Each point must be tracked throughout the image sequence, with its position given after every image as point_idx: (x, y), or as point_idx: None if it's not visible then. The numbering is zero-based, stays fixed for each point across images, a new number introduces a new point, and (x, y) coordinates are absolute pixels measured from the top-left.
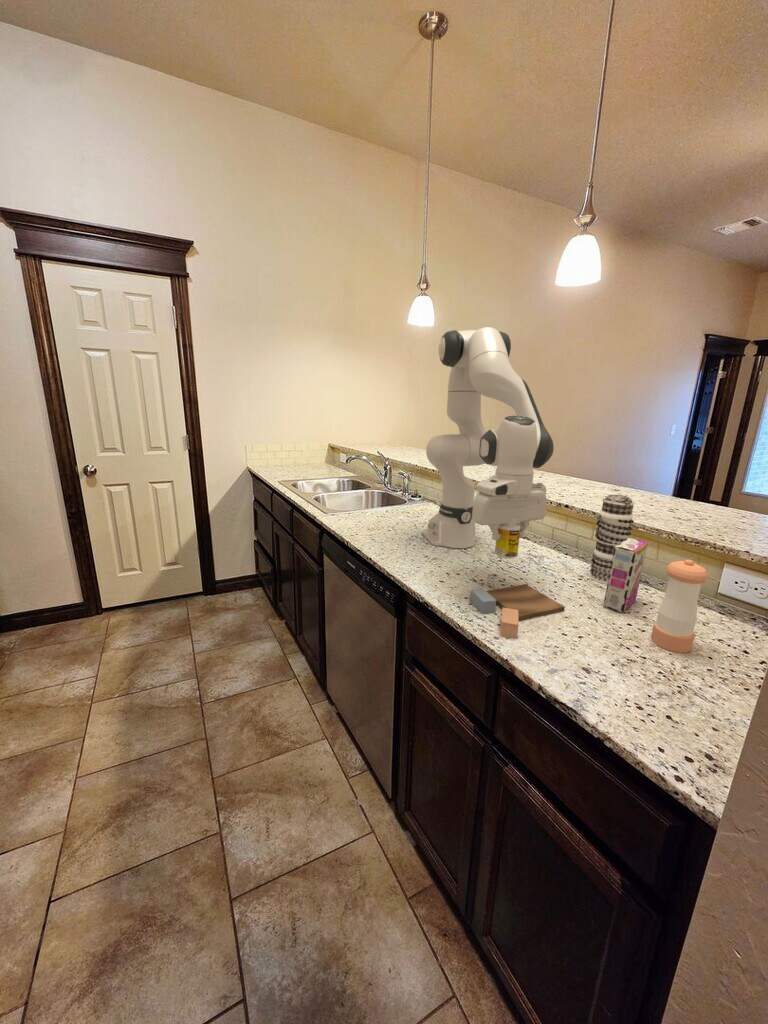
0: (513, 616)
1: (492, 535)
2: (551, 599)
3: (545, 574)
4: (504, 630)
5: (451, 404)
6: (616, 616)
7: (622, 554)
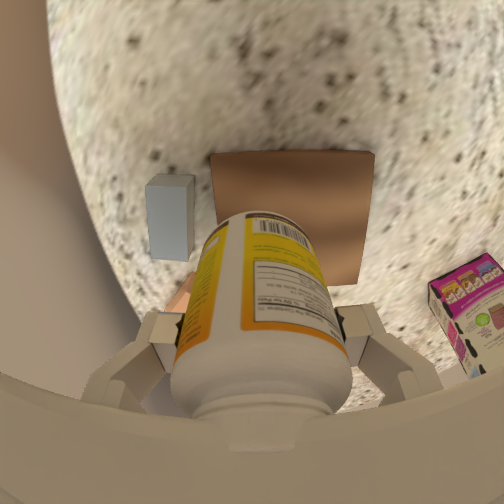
0: None
1: (142, 328)
2: (360, 251)
3: (471, 113)
4: None
5: None
6: (412, 309)
7: None
